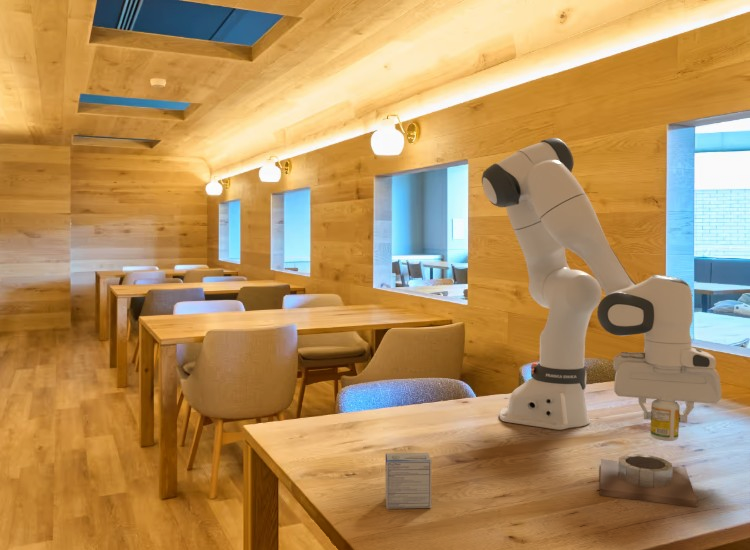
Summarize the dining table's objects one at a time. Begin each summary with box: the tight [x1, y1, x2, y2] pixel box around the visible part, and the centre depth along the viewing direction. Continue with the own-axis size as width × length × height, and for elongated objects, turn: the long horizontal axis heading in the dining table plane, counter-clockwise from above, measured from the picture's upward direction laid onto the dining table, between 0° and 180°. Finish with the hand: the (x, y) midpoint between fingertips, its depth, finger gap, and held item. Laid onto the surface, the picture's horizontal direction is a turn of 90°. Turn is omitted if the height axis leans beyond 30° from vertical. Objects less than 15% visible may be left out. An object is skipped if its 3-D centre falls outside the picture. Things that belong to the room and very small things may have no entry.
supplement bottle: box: [650, 394, 680, 442], centre depth 137 cm, size 5×5×10 cm
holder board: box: [599, 453, 698, 508], centre depth 126 cm, size 16×17×4 cm
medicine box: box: [384, 452, 433, 510], centre depth 116 cm, size 8×4×9 cm, turn 92°
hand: (664, 420), depth 137 cm, fingers closed on supplement bottle, 5 cm apart
